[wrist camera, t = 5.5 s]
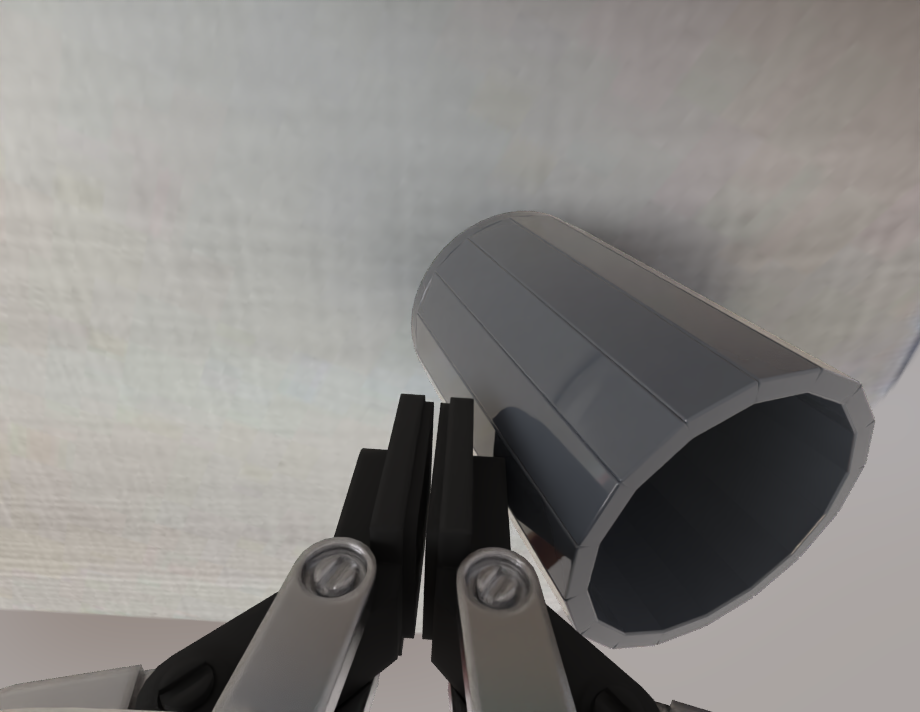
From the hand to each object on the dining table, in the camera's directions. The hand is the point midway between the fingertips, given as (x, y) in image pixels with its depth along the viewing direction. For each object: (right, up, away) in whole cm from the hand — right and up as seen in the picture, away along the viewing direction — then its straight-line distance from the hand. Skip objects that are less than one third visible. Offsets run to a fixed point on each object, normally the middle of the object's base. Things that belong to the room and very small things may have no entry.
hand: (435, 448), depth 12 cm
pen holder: (+2, +4, +6) cm, 7 cm away
